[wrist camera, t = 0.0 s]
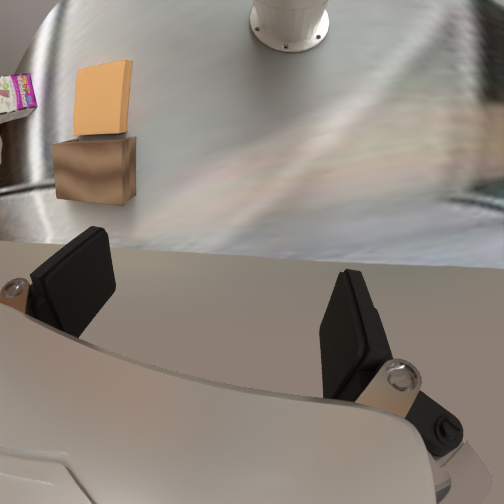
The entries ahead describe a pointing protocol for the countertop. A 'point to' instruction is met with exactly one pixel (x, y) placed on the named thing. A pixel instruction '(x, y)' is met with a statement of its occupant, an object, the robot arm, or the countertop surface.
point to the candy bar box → (16, 97)
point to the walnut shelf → (95, 170)
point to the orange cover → (102, 98)
